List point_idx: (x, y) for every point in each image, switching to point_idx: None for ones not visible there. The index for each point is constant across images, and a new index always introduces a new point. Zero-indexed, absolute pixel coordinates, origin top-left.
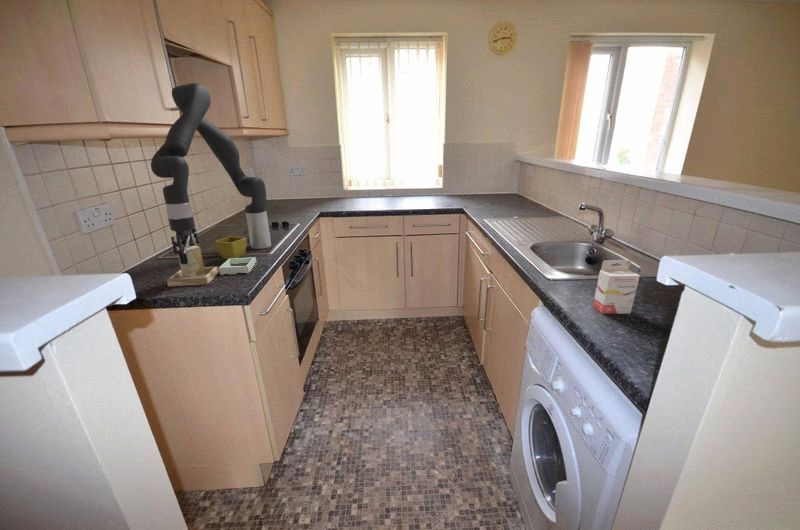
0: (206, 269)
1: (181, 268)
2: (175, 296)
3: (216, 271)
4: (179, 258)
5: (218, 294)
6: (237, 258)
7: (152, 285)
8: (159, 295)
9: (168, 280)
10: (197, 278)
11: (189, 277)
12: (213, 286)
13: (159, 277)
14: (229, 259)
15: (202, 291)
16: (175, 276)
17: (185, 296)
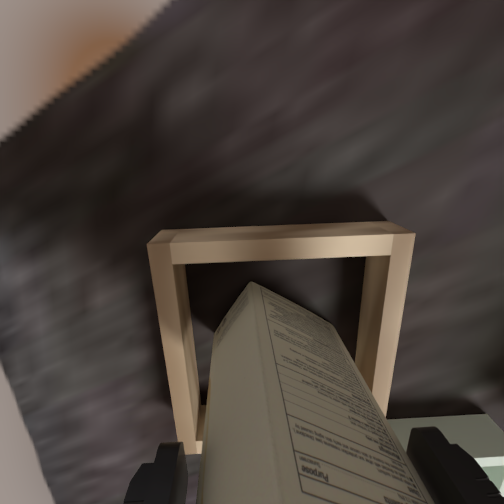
0: (368, 382)
1: (249, 342)
2: (13, 343)
3: None
4: (254, 431)
5: (59, 496)
6: (501, 494)
7: (192, 94)
8: (15, 250)
9: (150, 253)
10: (175, 415)
11: (212, 356)
12: (155, 449)
13: (377, 46)
14: (500, 464)
15: (90, 431)
16: (241, 259)
17: (20, 388)
